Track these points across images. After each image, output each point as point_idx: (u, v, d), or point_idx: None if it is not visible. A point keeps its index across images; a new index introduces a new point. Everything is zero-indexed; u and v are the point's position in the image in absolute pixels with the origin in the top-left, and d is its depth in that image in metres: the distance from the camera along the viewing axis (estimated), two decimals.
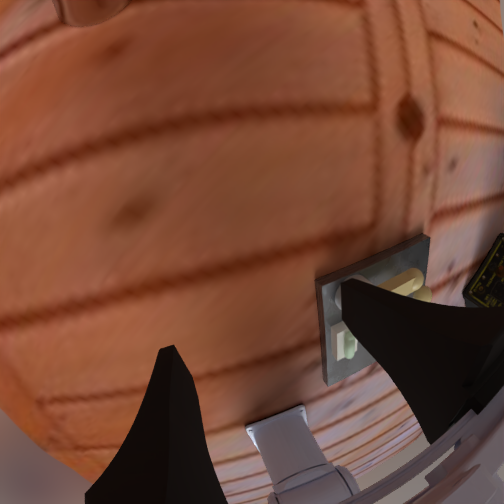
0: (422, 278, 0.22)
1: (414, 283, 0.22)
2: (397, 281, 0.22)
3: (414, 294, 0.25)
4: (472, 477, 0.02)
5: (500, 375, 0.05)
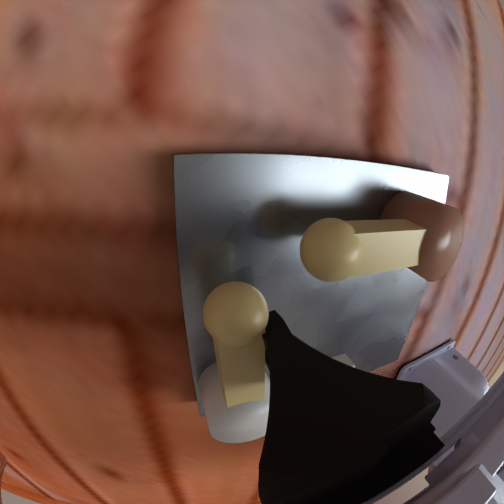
0: (229, 323, 0.08)
1: (234, 346, 0.09)
2: (218, 365, 0.10)
3: None
4: (472, 477, 0.02)
5: (409, 460, 0.04)
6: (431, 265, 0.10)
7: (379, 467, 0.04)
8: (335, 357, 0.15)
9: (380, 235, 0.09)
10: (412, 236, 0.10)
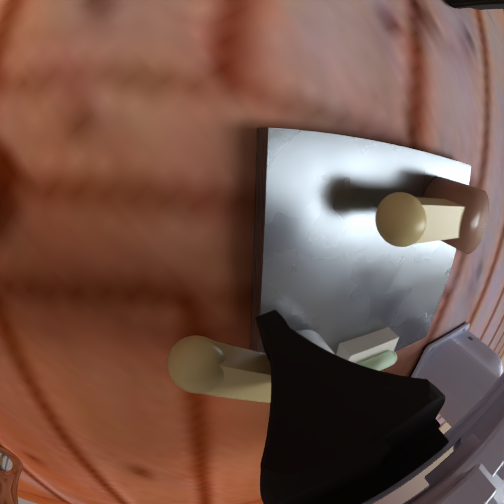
0: (186, 387, 0.09)
1: (214, 388, 0.09)
2: None
3: None
4: (472, 477, 0.02)
5: (415, 456, 0.04)
6: (467, 239, 0.11)
7: (385, 463, 0.04)
8: (380, 330, 0.16)
9: (437, 208, 0.10)
10: (456, 211, 0.10)
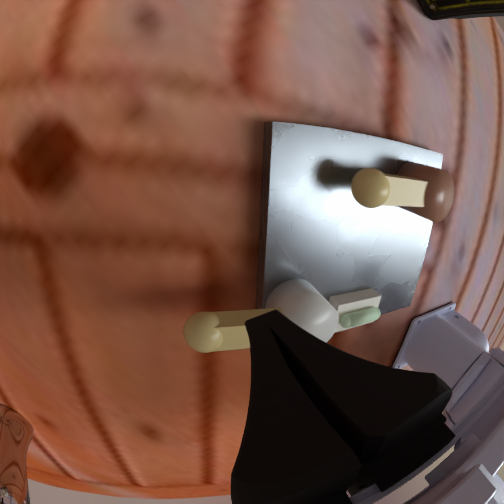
0: (199, 349, 0.13)
1: (219, 345, 0.14)
2: None
3: None
4: (472, 477, 0.02)
5: (422, 450, 0.04)
6: (432, 209, 0.15)
7: (394, 458, 0.04)
8: (365, 290, 0.20)
9: (399, 180, 0.13)
10: (419, 185, 0.14)
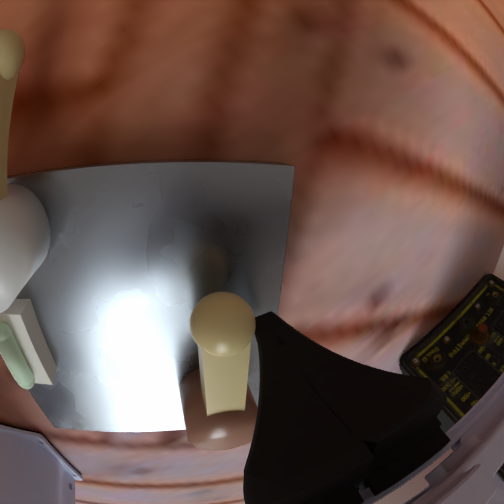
0: None
1: None
2: None
3: (193, 310, 0.09)
4: (472, 477, 0.02)
5: (416, 455, 0.04)
6: (206, 429, 0.10)
7: (387, 462, 0.04)
8: (51, 357, 0.10)
9: (244, 368, 0.09)
10: (239, 399, 0.10)
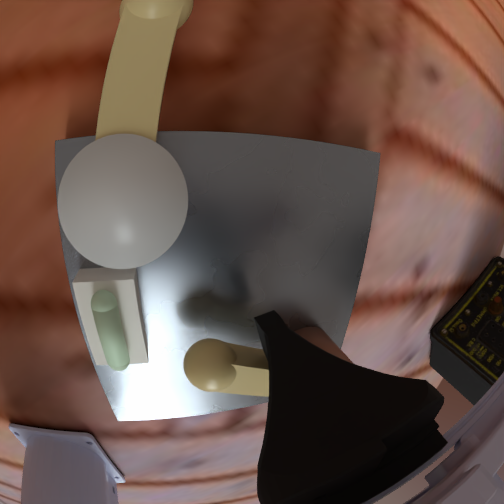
0: None
1: (140, 11, 0.05)
2: None
3: None
4: (472, 477, 0.02)
5: (413, 457, 0.04)
6: None
7: (383, 464, 0.04)
8: (145, 333, 0.11)
9: (258, 370, 0.10)
10: None
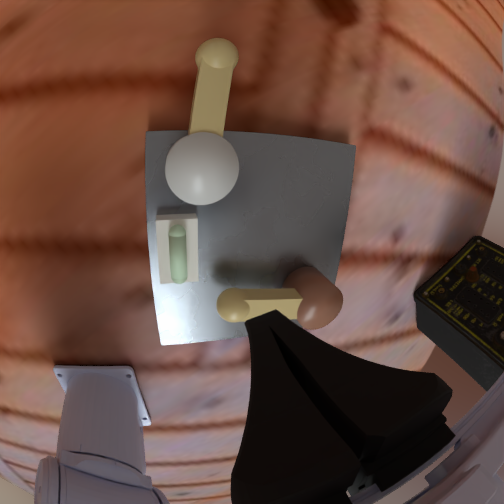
0: (212, 44, 0.10)
1: (211, 63, 0.11)
2: (194, 95, 0.12)
3: None
4: (472, 477, 0.02)
5: (422, 450, 0.04)
6: (308, 319, 0.19)
7: (394, 458, 0.04)
8: None
9: (263, 301, 0.17)
10: (289, 302, 0.18)
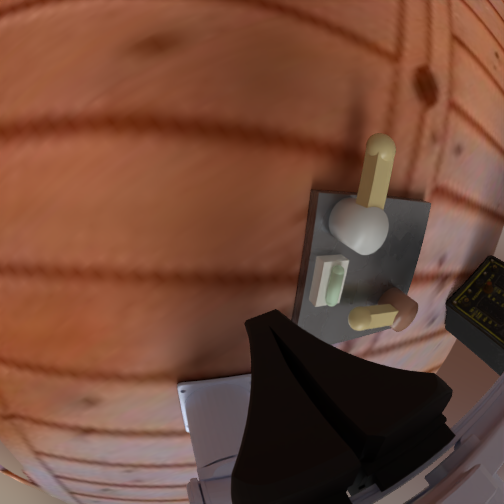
0: (386, 142, 0.16)
1: (384, 157, 0.17)
2: (367, 176, 0.18)
3: None
4: (472, 477, 0.02)
5: (422, 450, 0.04)
6: (398, 325, 0.24)
7: (394, 458, 0.04)
8: None
9: (379, 314, 0.23)
10: (391, 314, 0.23)
